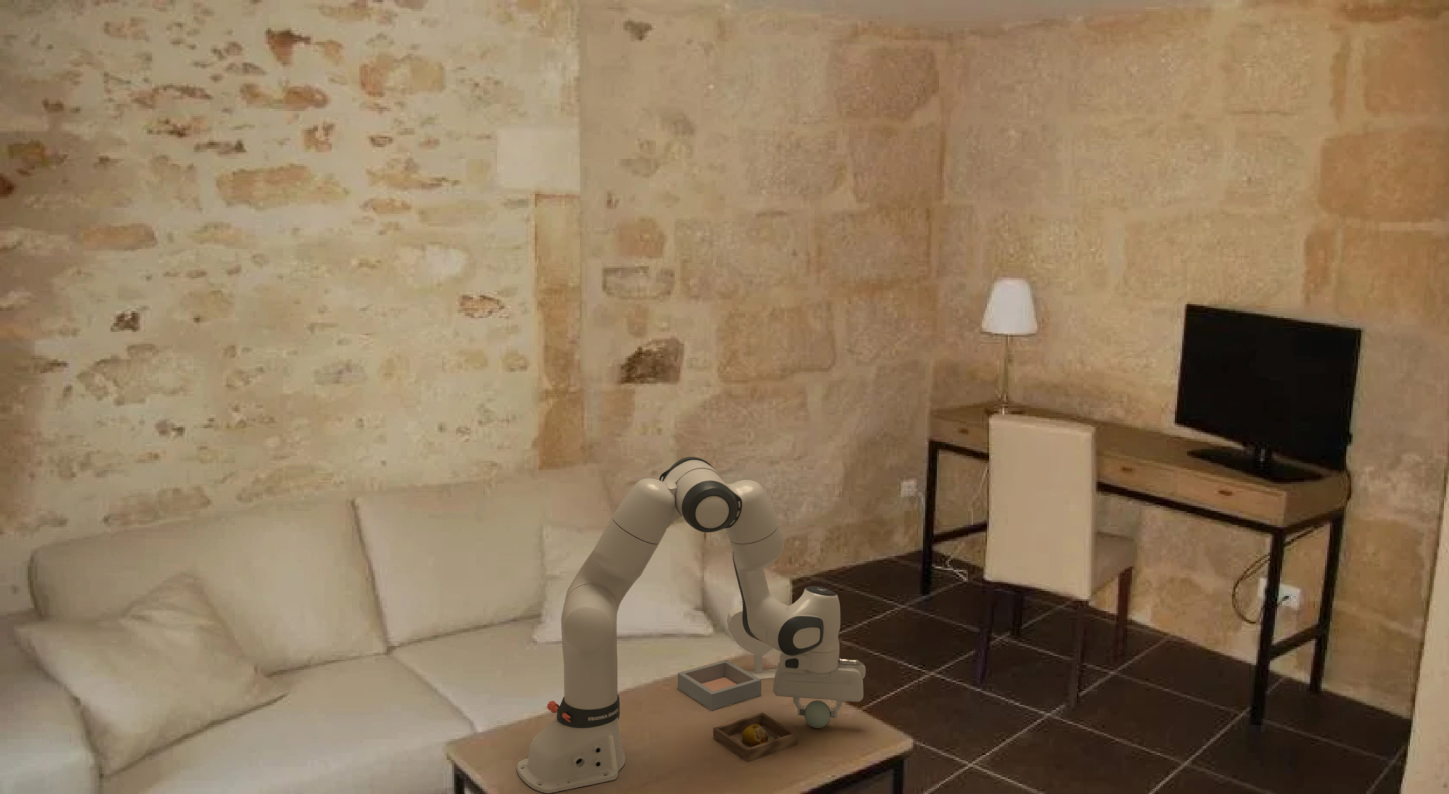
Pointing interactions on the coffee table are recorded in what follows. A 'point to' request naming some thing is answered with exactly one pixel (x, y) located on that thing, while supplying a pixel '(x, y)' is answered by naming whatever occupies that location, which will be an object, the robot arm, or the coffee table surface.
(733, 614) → the heart sculpture
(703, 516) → the robot arm
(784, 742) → the fruit tray
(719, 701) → the grey square tray
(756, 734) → the fruit
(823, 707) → the ball
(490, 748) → the coffee table surface
